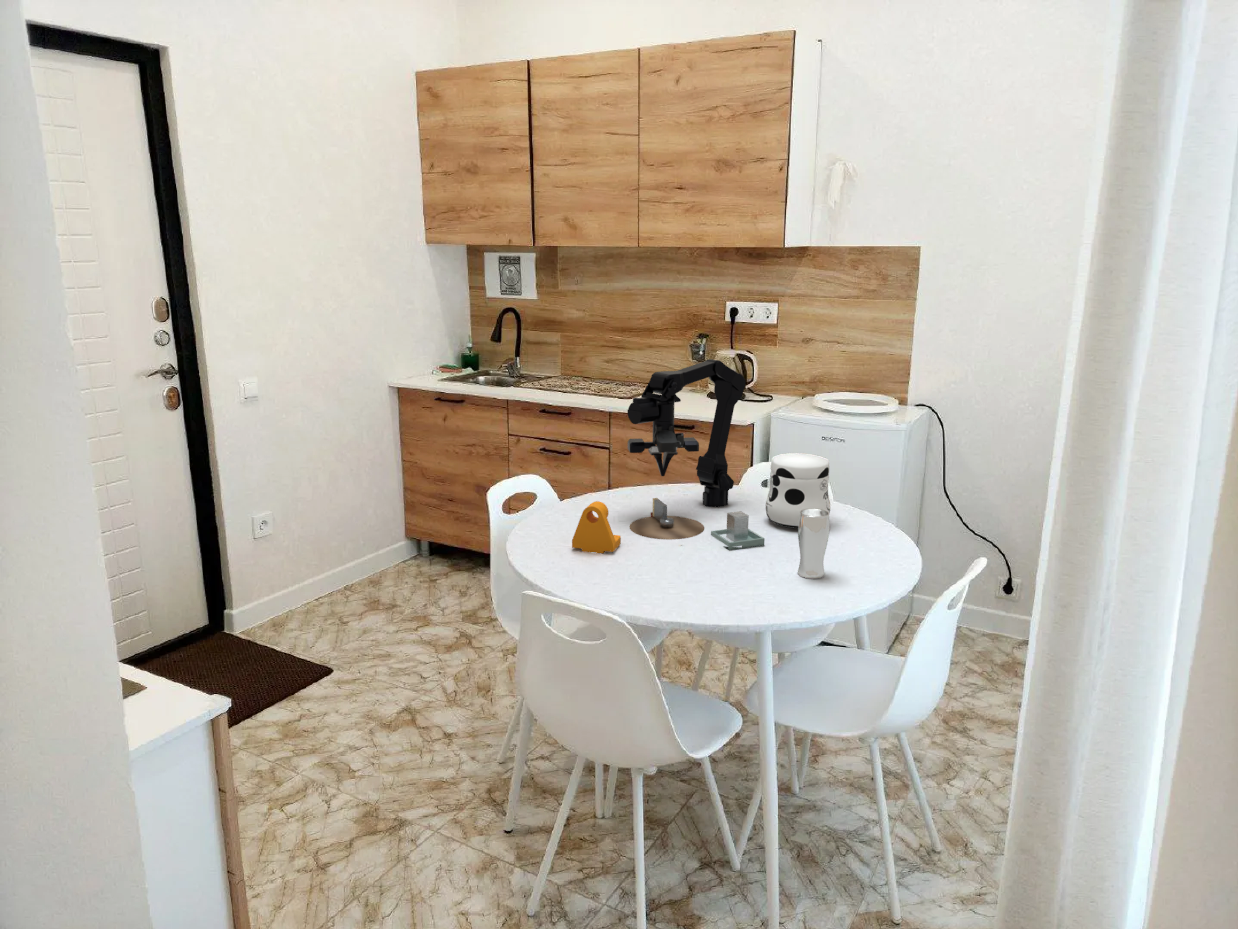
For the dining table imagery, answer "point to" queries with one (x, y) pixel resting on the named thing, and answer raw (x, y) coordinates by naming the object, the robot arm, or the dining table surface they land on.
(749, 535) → the tray
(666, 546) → the dining table surface
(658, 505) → the crank
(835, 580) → the dining table surface
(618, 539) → the bracket
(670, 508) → the dining table surface
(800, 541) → the beer glass
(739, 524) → the block
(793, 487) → the milk container
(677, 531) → the base
